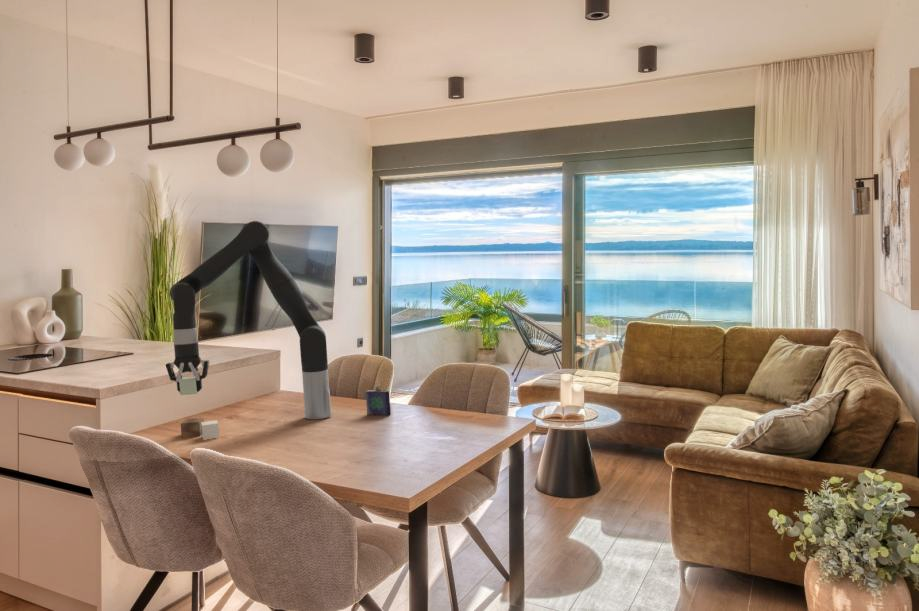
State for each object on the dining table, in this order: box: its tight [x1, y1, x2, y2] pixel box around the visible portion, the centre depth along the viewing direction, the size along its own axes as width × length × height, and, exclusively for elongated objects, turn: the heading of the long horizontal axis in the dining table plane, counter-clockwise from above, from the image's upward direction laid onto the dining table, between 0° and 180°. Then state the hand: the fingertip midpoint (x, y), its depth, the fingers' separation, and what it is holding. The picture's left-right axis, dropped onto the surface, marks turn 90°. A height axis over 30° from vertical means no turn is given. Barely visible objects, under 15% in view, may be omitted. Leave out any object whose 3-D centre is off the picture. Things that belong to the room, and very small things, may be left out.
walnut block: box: [180, 417, 205, 438], centre depth 224 cm, size 6×6×5 cm
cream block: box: [201, 419, 220, 441], centre depth 219 cm, size 5×5×5 cm
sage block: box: [179, 376, 199, 396], centre depth 223 cm, size 5×5×5 cm
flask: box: [365, 385, 392, 417], centre depth 239 cm, size 9×3×11 cm, turn 71°
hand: (189, 391), depth 223 cm, fingers closed on sage block, 5 cm apart
